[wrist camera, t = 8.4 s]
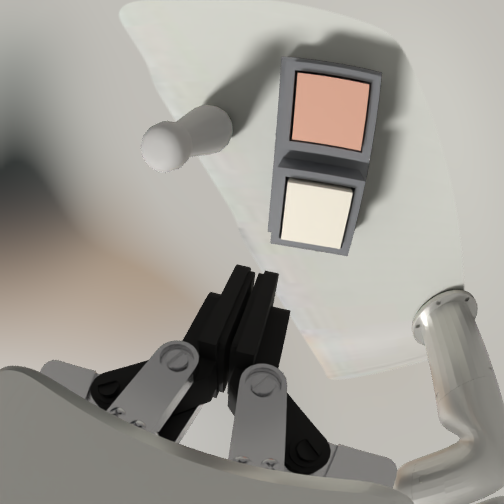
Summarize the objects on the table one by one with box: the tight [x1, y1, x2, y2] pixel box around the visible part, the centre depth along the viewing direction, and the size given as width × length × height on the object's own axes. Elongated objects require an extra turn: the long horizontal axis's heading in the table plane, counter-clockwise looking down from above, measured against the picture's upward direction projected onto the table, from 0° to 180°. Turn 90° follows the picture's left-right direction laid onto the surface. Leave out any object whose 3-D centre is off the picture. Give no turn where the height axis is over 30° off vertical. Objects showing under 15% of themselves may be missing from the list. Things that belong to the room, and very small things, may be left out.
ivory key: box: [281, 177, 353, 249], centre depth 27 cm, size 6×6×4 cm
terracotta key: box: [292, 73, 369, 151], centre depth 22 cm, size 6×6×4 cm
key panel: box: [268, 57, 382, 256], centre depth 27 cm, size 20×10×7 cm, turn 177°
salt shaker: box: [141, 105, 233, 173], centre depth 25 cm, size 6×6×13 cm
